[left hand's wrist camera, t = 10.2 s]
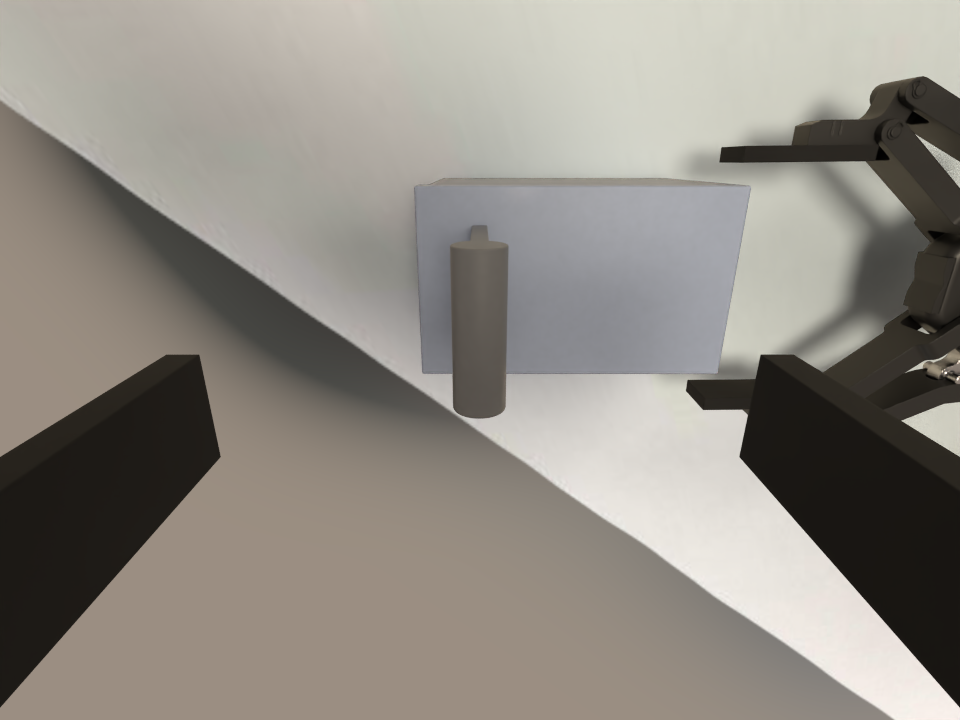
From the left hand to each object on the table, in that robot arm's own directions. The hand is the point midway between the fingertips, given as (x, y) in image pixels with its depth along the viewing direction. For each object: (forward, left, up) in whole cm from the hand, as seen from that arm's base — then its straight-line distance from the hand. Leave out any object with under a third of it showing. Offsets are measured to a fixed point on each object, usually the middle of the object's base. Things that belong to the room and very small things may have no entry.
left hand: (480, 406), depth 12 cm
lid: (+4, +3, -14) cm, 15 cm away
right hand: (+11, +7, -18) cm, 22 cm away
